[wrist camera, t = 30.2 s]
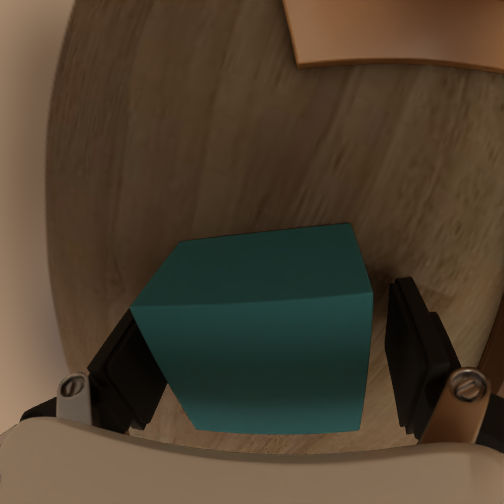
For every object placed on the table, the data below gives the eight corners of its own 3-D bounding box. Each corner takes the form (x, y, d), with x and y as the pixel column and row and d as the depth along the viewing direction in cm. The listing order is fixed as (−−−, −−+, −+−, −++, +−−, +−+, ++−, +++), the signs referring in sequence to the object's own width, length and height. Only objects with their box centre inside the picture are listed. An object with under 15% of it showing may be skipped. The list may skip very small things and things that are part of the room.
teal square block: (218, 358, 14) (195, 430, 10) (179, 240, 11) (128, 307, 7) (352, 352, 12) (359, 431, 9) (350, 222, 10) (374, 292, 6)
